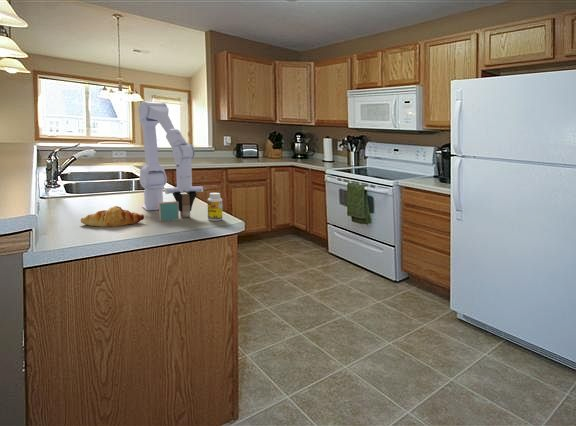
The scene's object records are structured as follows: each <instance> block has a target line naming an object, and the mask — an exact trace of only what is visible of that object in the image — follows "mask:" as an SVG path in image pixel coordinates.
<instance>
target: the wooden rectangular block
mask: <svg viewBox="0 0 576 426" xmlns="http://www.w3.org/2000/svg"><path fill="white" fill-rule="evenodd" d="M180 194H181V195H182V212H180V211H179V218H182V219H186V218H187V219H188V217H189V218H191V211H190V195H189V194H187V193H180Z"/></svg>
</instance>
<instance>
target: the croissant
mask: <svg viewBox="0 0 576 426" xmlns="http://www.w3.org/2000/svg"><path fill="white" fill-rule="evenodd" d="M144 219H145V215H144V214H142V213H141V214H140V213H137V212H134V211H133V212H131V211H130V210H129V209H128V210H126V209H123V208H122V207H120V206H117V205H114V206H113V207H109V208H108V209H105V210H104V209H103V210H98V211H96V212H95V213H92V214H88V215H86V216H85V217H81V219H80V223H82V225H84V226H85V225H86V226H92V227H99V228H100V227H101V228H109V227H110V226H112V227H113V226H115V227H121V226H128V225H135V224H138V223H140V222H141V221H143V220H144ZM113 228H114V227H113Z"/></svg>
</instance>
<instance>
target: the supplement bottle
mask: <svg viewBox="0 0 576 426" xmlns="http://www.w3.org/2000/svg"><path fill="white" fill-rule="evenodd" d="M222 219H223V198H221V193H220V192H210V193H209V197H208V198H207V220H208V221H212V222H214V221H215V222H216V221H217V222H219V221H222Z"/></svg>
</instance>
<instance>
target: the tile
mask: <svg viewBox="0 0 576 426" xmlns="http://www.w3.org/2000/svg"><path fill="white" fill-rule="evenodd" d="M158 214H159V215H158V216H159V217H158V218H159V219H158V220H159V222H168V221H169V222H170V220H171V221H179V220H180V211H179V204H178V201H176V200H174V201H173V200H172V201H163V202H159V210H158Z"/></svg>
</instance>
